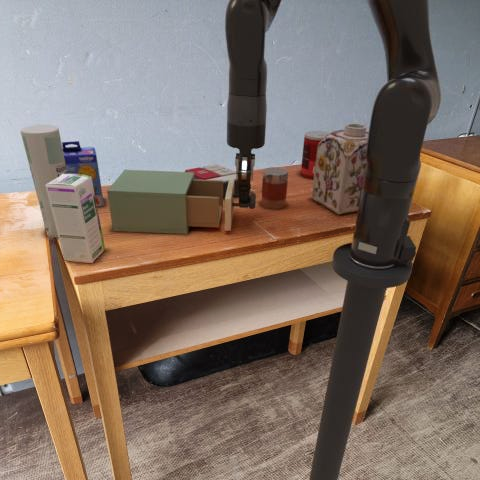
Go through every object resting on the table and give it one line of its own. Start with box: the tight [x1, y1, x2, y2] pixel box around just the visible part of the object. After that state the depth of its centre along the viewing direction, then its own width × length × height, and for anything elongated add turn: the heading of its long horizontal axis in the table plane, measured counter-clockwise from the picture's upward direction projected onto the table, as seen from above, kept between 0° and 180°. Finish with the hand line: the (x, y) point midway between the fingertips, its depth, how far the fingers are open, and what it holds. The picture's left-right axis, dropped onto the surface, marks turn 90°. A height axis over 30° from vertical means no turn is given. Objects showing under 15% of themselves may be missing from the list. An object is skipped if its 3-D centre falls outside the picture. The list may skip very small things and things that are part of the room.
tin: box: [261, 166, 289, 210], centre depth 104 cm, size 6×6×8 cm
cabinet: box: [106, 169, 195, 235], centre depth 95 cm, size 16×14×9 cm
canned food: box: [300, 130, 331, 180], centre depth 123 cm, size 8×8×11 cm
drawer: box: [186, 179, 257, 232], centre depth 95 cm, size 19×12×7 cm, turn 87°
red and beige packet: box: [184, 163, 239, 199], centre depth 114 cm, size 11×4×15 cm
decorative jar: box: [311, 122, 369, 216], centre depth 103 cm, size 12×12×18 cm
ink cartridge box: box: [61, 140, 105, 208], centre depth 100 cm, size 10×6×14 cm, turn 108°
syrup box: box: [45, 174, 106, 264], centre depth 79 cm, size 6×6×14 cm
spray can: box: [20, 124, 67, 239], centre depth 86 cm, size 6×6×20 cm
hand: (243, 206), depth 95 cm, fingers closed
